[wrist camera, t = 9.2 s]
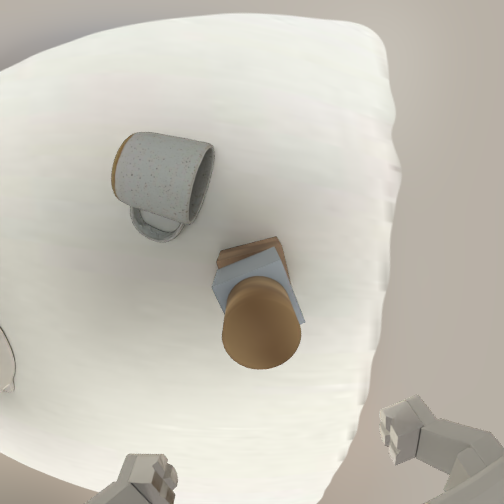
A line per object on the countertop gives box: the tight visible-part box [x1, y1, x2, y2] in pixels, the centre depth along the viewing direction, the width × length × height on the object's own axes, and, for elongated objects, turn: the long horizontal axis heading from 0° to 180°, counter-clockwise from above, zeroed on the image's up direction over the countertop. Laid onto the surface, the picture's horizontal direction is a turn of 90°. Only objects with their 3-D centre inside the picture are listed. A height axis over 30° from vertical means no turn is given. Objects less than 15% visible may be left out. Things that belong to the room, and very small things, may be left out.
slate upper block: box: [212, 247, 305, 324], centre depth 25 cm, size 6×6×5 cm
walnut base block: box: [217, 237, 291, 284], centre depth 30 cm, size 6×6×5 cm
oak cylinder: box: [222, 276, 301, 369], centre depth 20 cm, size 5×5×5 cm
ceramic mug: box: [111, 132, 214, 242], centre depth 27 cm, size 11×8×8 cm
